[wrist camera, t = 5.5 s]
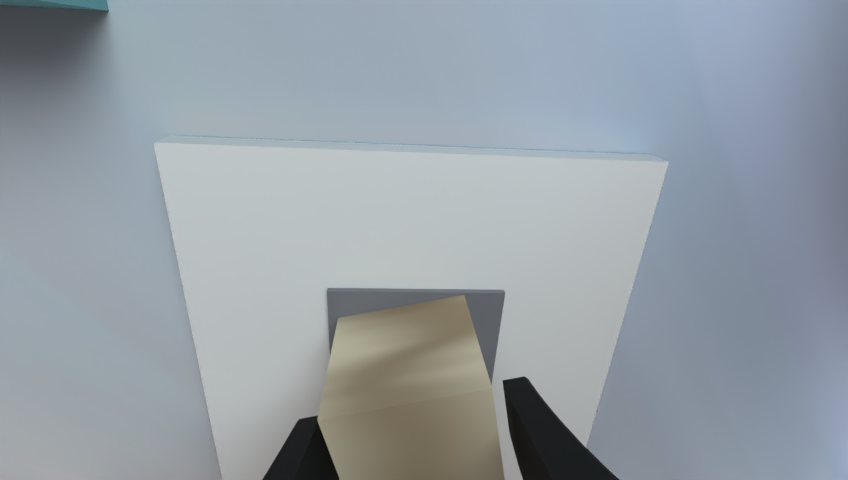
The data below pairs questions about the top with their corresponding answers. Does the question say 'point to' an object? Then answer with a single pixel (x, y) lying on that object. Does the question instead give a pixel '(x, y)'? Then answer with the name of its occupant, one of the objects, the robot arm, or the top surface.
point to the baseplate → (398, 267)
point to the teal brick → (60, 4)
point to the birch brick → (410, 396)
